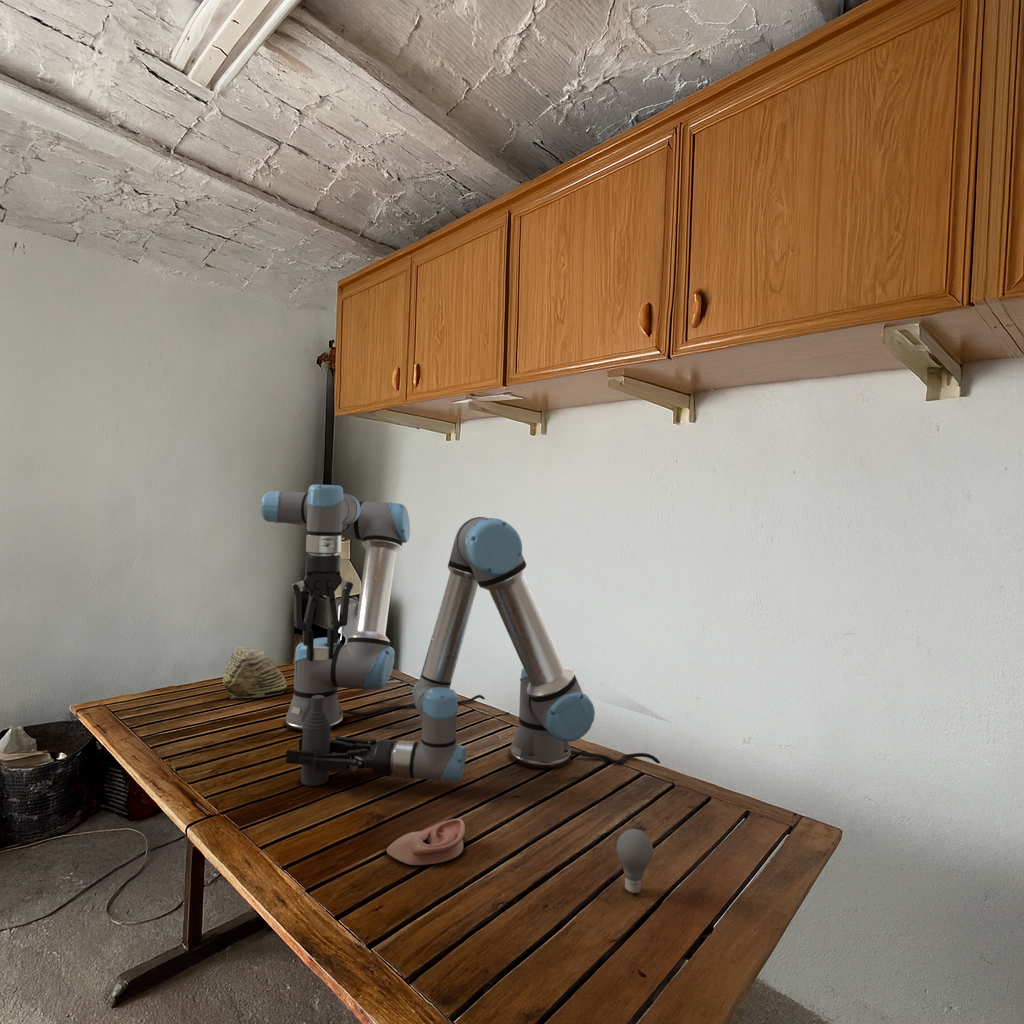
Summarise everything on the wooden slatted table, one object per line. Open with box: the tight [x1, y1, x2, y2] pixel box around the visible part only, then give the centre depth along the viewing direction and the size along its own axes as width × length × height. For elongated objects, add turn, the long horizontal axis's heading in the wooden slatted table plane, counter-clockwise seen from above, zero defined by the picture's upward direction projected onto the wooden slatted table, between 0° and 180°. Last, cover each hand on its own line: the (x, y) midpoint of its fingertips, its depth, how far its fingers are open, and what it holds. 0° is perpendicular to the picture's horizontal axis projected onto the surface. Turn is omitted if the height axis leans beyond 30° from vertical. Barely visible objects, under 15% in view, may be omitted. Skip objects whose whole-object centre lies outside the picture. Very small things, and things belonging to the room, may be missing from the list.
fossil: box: [222, 646, 288, 699], centre depth 198 cm, size 9×18×15 cm, turn 132°
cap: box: [313, 646, 329, 660], centre depth 141 cm, size 4×4×2 cm
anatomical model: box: [386, 818, 466, 866], centre depth 115 cm, size 13×4×12 cm
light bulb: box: [615, 828, 654, 894], centre depth 106 cm, size 6×6×10 cm
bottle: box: [300, 695, 331, 787], centre depth 141 cm, size 6×6×19 cm
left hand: (319, 658), depth 141 cm, fingers closed on cap, 4 cm apart
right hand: (293, 750), depth 142 cm, fingers closed on bottle, 6 cm apart
